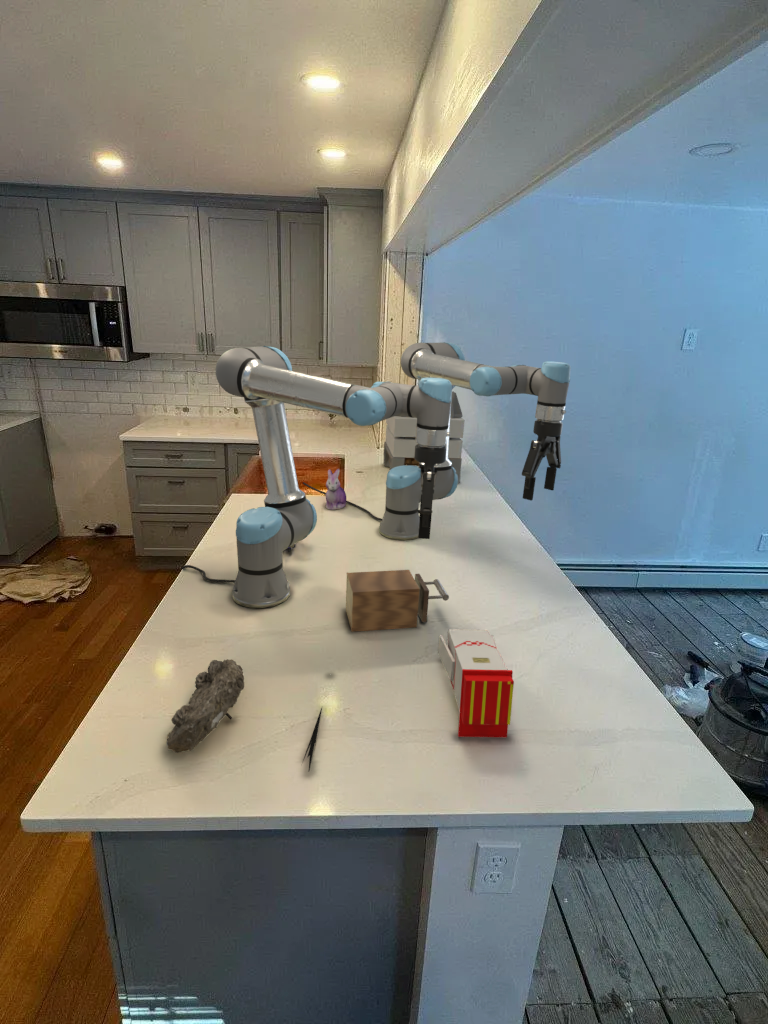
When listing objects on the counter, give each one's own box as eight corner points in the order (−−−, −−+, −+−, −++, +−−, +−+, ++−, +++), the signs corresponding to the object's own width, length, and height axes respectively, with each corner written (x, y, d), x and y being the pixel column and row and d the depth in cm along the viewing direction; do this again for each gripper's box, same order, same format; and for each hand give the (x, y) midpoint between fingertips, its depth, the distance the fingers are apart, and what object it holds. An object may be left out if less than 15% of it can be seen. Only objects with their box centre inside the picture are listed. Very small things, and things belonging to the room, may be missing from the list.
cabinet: (406, 606, 152) (409, 569, 148) (416, 627, 142) (419, 588, 138) (345, 610, 148) (346, 572, 145) (351, 631, 138) (352, 592, 135)
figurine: (329, 511, 218) (329, 474, 213) (319, 503, 226) (319, 467, 221) (351, 508, 222) (352, 471, 217) (341, 500, 230) (342, 465, 225)
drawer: (436, 602, 152) (439, 572, 149) (447, 620, 144) (450, 589, 141) (361, 607, 148) (362, 576, 145) (367, 626, 139) (368, 593, 136)
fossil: (192, 660, 117) (244, 628, 112) (224, 691, 120) (276, 661, 115) (142, 746, 98) (202, 712, 93) (182, 779, 101) (242, 748, 96)
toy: (488, 613, 130) (523, 677, 101) (484, 667, 133) (517, 744, 104) (435, 612, 130) (455, 676, 101) (432, 666, 133) (451, 743, 103)
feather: (331, 679, 122) (336, 673, 122) (307, 777, 96) (313, 769, 95) (324, 675, 122) (329, 669, 121) (298, 772, 95) (304, 764, 95)
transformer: (382, 463, 289) (386, 382, 275) (445, 464, 293) (451, 384, 279) (390, 482, 257) (394, 392, 243) (460, 483, 261) (468, 394, 247)
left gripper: (448, 459, 123) (440, 548, 130) (445, 434, 146) (438, 512, 153) (413, 456, 123) (407, 546, 130) (416, 432, 147) (410, 509, 154)
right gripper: (541, 428, 144) (530, 507, 151) (580, 417, 162) (568, 488, 169) (514, 423, 148) (505, 500, 155) (555, 413, 166) (545, 482, 174)
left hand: (424, 527), depth 142 cm, fingers open, 13 cm apart
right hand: (538, 494), depth 162 cm, fingers open, 13 cm apart
